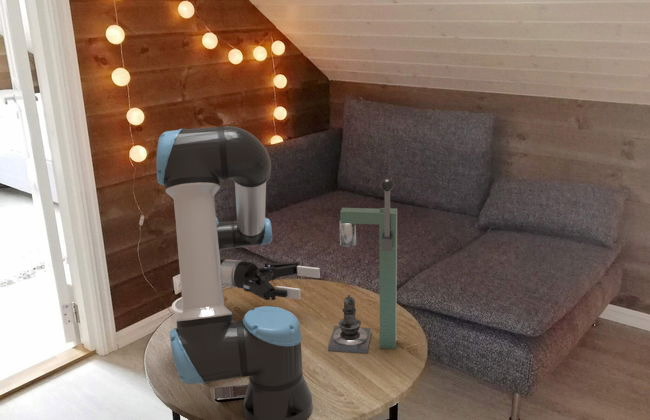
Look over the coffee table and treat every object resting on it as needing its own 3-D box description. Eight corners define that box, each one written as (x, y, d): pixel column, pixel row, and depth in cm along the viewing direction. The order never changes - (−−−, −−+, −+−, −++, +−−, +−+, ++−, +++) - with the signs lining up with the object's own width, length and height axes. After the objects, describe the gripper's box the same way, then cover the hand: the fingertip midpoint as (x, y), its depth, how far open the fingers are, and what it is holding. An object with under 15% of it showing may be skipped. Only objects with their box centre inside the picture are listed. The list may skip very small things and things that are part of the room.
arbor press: (394, 355, 145) (395, 181, 130) (328, 350, 148) (322, 179, 133) (397, 334, 155) (398, 169, 140) (334, 330, 158) (329, 168, 143)
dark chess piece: (357, 327, 155) (357, 287, 151) (363, 339, 149) (363, 297, 145) (336, 330, 154) (335, 290, 150) (341, 342, 148) (340, 301, 144)
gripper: (260, 269, 171) (327, 277, 164) (217, 306, 149) (291, 317, 142) (258, 245, 169) (326, 253, 162) (214, 280, 147) (289, 290, 140)
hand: (310, 283), depth 152 cm, fingers open, 13 cm apart
